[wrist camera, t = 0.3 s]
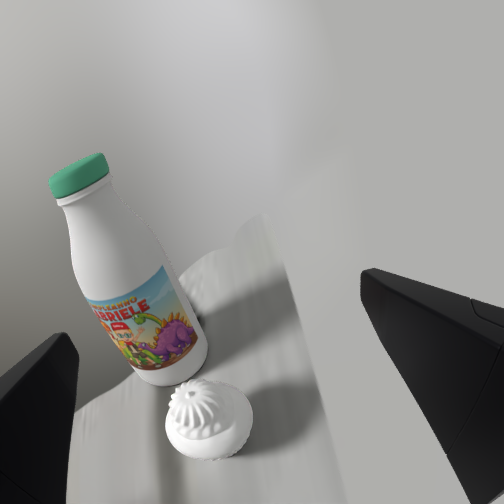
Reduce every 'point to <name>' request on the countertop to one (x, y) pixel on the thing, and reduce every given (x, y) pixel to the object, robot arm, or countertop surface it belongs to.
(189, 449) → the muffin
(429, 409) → the robot arm
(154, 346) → the milk bottle
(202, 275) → the countertop surface
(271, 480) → the countertop surface
